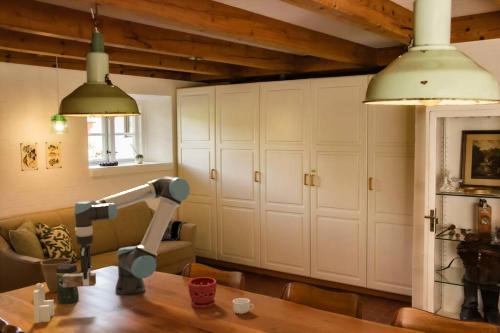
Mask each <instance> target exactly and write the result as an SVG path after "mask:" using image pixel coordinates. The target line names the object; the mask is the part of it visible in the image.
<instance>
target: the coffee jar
mask: <svg viewBox="0 0 500 333" xmlns="http://www.w3.org/2000/svg"><path fill="white" fill-rule="evenodd" d="M64 274H78V266H77V264H75V263H70V264H61V265H58V266H57V270H56V275H57V277H58V292H57V302H58V303H60V304H71V303H76V302H77V301H78V300H79V299H80V297H79V296H80V294H79V289H78V287H63V277H62V276H63V275H64Z"/></svg>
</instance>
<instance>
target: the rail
mask: <svg viewBox="0 0 500 333" xmlns="http://www.w3.org/2000/svg"><path fill="white" fill-rule="evenodd" d="M96 273H97V272H91V273H89V286H88V287H95V285H96V284H97V275H96ZM62 277H63V287H84V286H83V275H82V273H77V274H64V275H63V276H62Z"/></svg>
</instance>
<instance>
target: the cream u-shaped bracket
mask: <svg viewBox="0 0 500 333" xmlns="http://www.w3.org/2000/svg"><path fill="white" fill-rule="evenodd" d="M45 288H46V287H45V284H42V283H40V282H38V283H36V284H35V289H34V291H33V292H32V294H33V295H32V296H33V312H34V324H40V323H48V322H51V317H53V316H55V301H54V299H46V293H45V290H46V289H45Z"/></svg>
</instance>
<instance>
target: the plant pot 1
mask: <svg viewBox="0 0 500 333" xmlns="http://www.w3.org/2000/svg"><path fill="white" fill-rule="evenodd" d="M71 261H72V259H71V258H69V257H57V258H56V257H55V258H49V259H44V260H42V261H40V268H41V271H42V276H43V278H44V281H45V284H46V286H47V288H48V291H49V292H50V293H53V294H54V293H55V294H56V293H58V277H57V275H56V270H57V266H58V265H61V264H71Z"/></svg>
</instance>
